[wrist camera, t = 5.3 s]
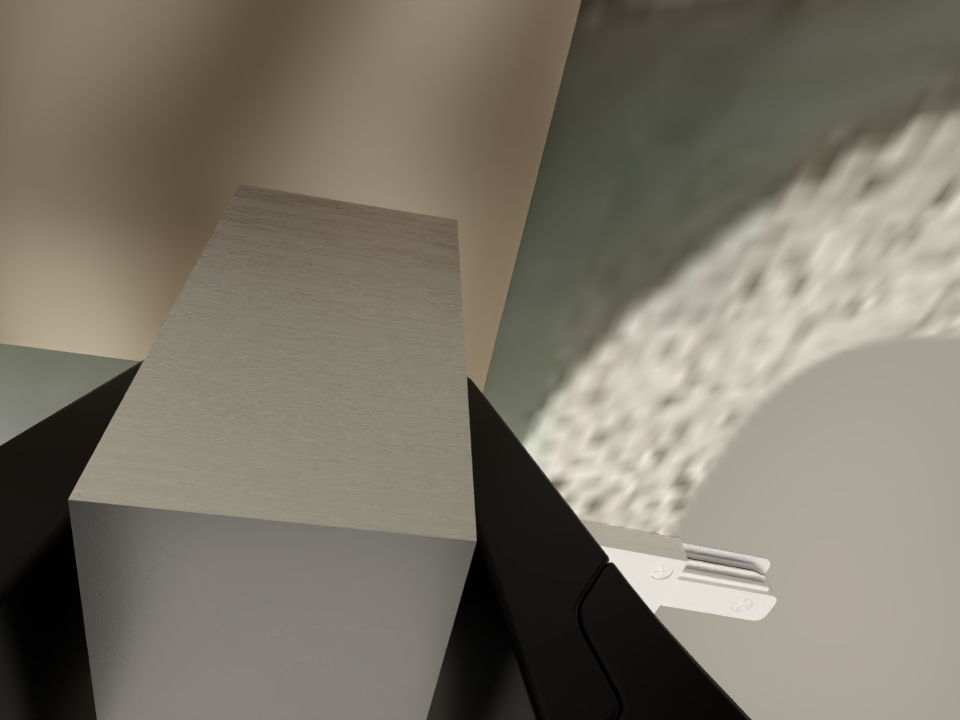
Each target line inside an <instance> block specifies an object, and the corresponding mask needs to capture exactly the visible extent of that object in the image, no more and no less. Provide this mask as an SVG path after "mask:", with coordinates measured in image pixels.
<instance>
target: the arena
mask: <svg viewBox="0 0 960 720" xmlns="http://www.w3.org/2000/svg"><path fill="white" fill-rule="evenodd" d="M580 4H581V0H0V343H2V344H9V345H17V346H25V347H33V348H41V349H48V350H56V351H64V352H72V353H80V354H87V355H95V356H103V357H111V358H119V359H126V360H134V361H143V360H144V359H145V357H146V355H147V354H148V352H149V350H150V348H151V346H152V344H153V343H154V341H155V339H156V337H157V335H158V333H159V332H160V330H161V328H162V326H163V324H164V322H165V321H166V319H167V317H168V315H169V313H170V311H171V310H172V308H173V306H174V304H175V302H176V300H177V299H178V297H179V295H180V293H181V291H182V289H183V288H184V286H185V284H186V282H187V280H188V278H189V277H190V275H191V273H192V271H193V269H194V267H195V266H196V264H197V262H198V260H199V258H200V256H201V255H202V253H203V251H204V249H205V247H206V245H207V244H208V242H209V240H210V238H211V236H212V234H213V232H214V231H215V229H216V227H217V225H218V223H219V221H220V220H221V218H222V216H223V214H224V212H225V210H226V209H227V207H228V205H229V203H230V201H231V199H232V198H233V196H234V194H235V192H236V190H237V188H238V187H239V185H240V184H241V185H247V186H253V187H260V188H266V189H272V190H278V191H284V192H290V193H296V194H302V195H308V196H314V197H320V198H326V199H333V200H339V201H345V202H351V203H357V204H363V205H369V206H375V207H381V208H387V209H393V210H399V211H405V212H412V213H418V214H424V215H430V216H436V217H442V218H448V219H454V220H457V222H458V239H459V255H460V272H461V289H462V305H463V322H464V338H465V355H466V372H467V377H469V378H470V379H471V380H472V381H473V382H474V383H475V384H476V386H477V387H478V388H479V390H480V391H481V392H482V393H483V389H484V385H485V381H486V377H487V373H488V369H489V365H490V361H491V357H492V353H493V349H494V345H495V341H496V337H497V333H498V329H499V325H500V322H501V318H502V314H503V310H504V306H505V302H506V298H507V294H508V290H509V286H510V282H511V278H512V274H513V270H514V266H515V262H516V258H517V254H518V250H519V246H520V242H521V238H522V234H523V230H524V226H525V222H526V218H527V214H528V210H529V206H530V203H531V199H532V195H533V191H534V187H535V183H536V179H537V175H538V171H539V167H540V163H541V159H542V155H543V151H544V147H545V143H546V139H547V135H548V131H549V127H550V123H551V119H552V115H553V111H554V107H555V103H556V99H557V95H558V91H559V88H560V84H561V80H562V76H563V72H564V68H565V64H566V60H567V56H568V52H569V48H570V44H571V40H572V36H573V32H574V28H575V24H576V20H577V16H578V12H579V8H580Z"/></svg>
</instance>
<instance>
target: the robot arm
mask: <svg viewBox="0 0 960 720" xmlns="http://www.w3.org/2000/svg"><path fill="white" fill-rule="evenodd" d="M143 361H144V360H143ZM143 361H141V362H139V363H138V364H136V365H134V366H133V367H131V368H129V369H128V370H126V371H124V372H123V373H121V374H119V375H118V376H116V377H114V378H113V379H111V380H109V381H108V382H106V383H104V384H103V385H101V386H99V387H98V388H96V389H94V390H93V391H91V392H89V393H88V394H86V395H84V396H83V397H81V398H79V399H78V400H76V401H74V402H73V403H71V404H69V405H68V406H66V407H64V408H63V409H61V410H59V411H58V412H56V413H54V414H53V415H51V416H49V417H48V418H46V419H44V420H43V421H41V422H39V423H38V424H36V425H34V426H33V427H31V428H29V429H28V430H26V431H24V432H23V433H21V434H19V435H18V436H16V437H14V438H13V439H11V440H9V441H8V442H6V443H4V444H3V445H1V446H0V720H97V716H96V709H95V701H94V694H93V686H92V678H91V671H90V663H89V656H88V648H87V640H86V633H85V625H84V618H83V610H82V602H81V595H80V587H79V580H78V572H77V564H76V557H75V549H74V542H73V534H72V526H71V519H70V511H69V504H68V499H69V497H70V495H71V493H72V491H73V489H74V488H75V486H76V484H77V482H78V480H79V478H80V477H81V475H82V473H83V471H84V469H85V467H86V466H87V464H88V462H89V460H90V458H91V456H92V455H93V453H94V451H95V449H96V447H97V445H98V444H99V442H100V440H101V438H102V436H103V434H104V433H105V431H106V429H107V427H108V425H109V423H110V422H111V420H112V418H113V416H114V414H115V412H116V411H117V409H118V407H119V405H120V403H121V401H122V400H123V398H124V396H125V394H126V392H127V390H128V388H129V387H130V385H131V383H132V381H133V379H134V377H135V376H136V374H137V372H138V370H139V368H140V366H141V365H142V363H143ZM467 388H468V405H469V421H470V438H471V455H472V471H473V488H474V504H475V521H476V538H477V542H476V545H475V549H474V552H473V556H472V560H471V563H470V567H469V570H468V574H467V577H466V581H465V584H464V588H463V591H462V595H461V599H460V602H459V606H458V609H457V613H456V616H455V620H454V623H453V627H452V630H451V634H450V638H449V641H448V645H447V648H446V652H445V655H444V659H443V662H442V666H441V669H440V673H439V677H438V680H437V684H436V687H435V691H434V694H433V698H432V701H431V705H430V708H429V712H428V716H427V719H426V720H751V719H750V717H749V716H747V714H746V713H745V712H744V711H743V710H742V709H741V708H740V707H739V706H738V705H737V704H736V703H735V702H734V701H733V699H731V697H730V696H729V695H728V694H727V693H726V692H725V691H724V690H723V689H722V688H721V687H720V686H719V685H718V684H717V683H716V681H714V679H713V678H711V676H710V675H709V674H708V673H707V672H706V671H705V670H704V669H703V668H702V667H701V666H700V665H699V664H698V662H696V660H695V659H694V658H693V657H692V656H691V655H690V654H689V652H688V651H687V650H686V649H685V648H684V647H683V646H682V645H681V644H680V643H679V641H678V640H677V639H676V638H675V637H674V636H673V635H672V634H671V633H670V631H669V630H668V629H667V628H666V627H665V626H664V625H663V624H662V623H661V622H660V620H659V619H658V618H657V617H656V615H655V614H654V613H653V612H652V610H651V609H650V608H649V607H648V605H647V604H646V603H645V602H644V601H643V599H642V598H641V597H640V596H639V594H638V593H637V592H636V591H635V590H634V588H633V587H632V586H631V585H630V583H629V582H628V581H627V579H626V578H625V577H624V576H623V574H622V573H621V572H620V570H619V569H618V568H617V566H616V565H615V564H614V563H612V562H609V557H608V555H607V554H606V553H605V551H604V550H603V549H602V547H601V546H600V545H599V544H598V542H597V541H596V540H595V538H594V537H593V536H592V535H591V533H590V532H589V531H588V529H587V528H586V527H585V526H584V524H583V523H582V522H581V520H580V519H579V518H578V516H577V515H576V514H575V513H574V511H573V510H572V509H571V507H570V506H569V505H568V504H567V502H566V501H565V500H564V498H563V497H562V496H561V494H560V493H559V492H558V491H557V489H556V488H555V487H554V485H553V484H552V483H551V482H550V480H549V479H548V478H547V476H546V475H545V474H544V472H543V471H542V470H541V469H540V467H539V466H538V465H537V463H536V462H535V461H534V460H533V458H532V457H531V456H530V454H529V453H528V452H527V450H526V449H525V448H524V447H523V445H522V444H521V443H520V441H519V440H518V439H517V438H516V436H515V435H514V434H513V432H512V431H511V430H510V428H509V427H508V426H507V425H506V423H505V422H504V421H503V419H502V418H501V417H500V416H499V414H498V413H497V412H496V410H495V409H494V408H493V406H492V405H491V404H490V403H489V401H488V400H487V399H486V397H485V396H484V395H483V394H482V392H481V391H480V390H479V388H478V387H477V386H476V384H475V383H474V382H473V381H472V380H471V379H470V378H469V377H467Z"/></svg>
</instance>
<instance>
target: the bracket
mask: <svg viewBox="0 0 960 720" xmlns="http://www.w3.org/2000/svg"><path fill="white" fill-rule="evenodd" d="M68 504H69V511H70V519H71V526H72V534H73V542H74V549H75V557H76V564H77V572H78V580H79V587H80V595H81V602H82V610H83V618H84V625H85V633H86V640H87V648H88V656H89V663H90V671H91V678H92V686H93V694H94V701H95V709H96V716H97V720H426V719H427V716H428V712H429V708H430V705H431V701H432V698H433V694H434V691H435V687H436V684H437V680H438V677H439V673H440V669H441V666H442V662H443V659H444V655H445V652H446V648H447V645H448V641H449V638H450V634H451V630H452V627H453V623H454V620H455V616H456V613H457V609H458V606H459V602H460V599H461V595H462V591H463V588H464V584H465V581H466V577H467V574H468V570H469V567H470V563H471V560H472V556H473V552H474V549H475V545H476V542H477V538H476V521H475V504H474V488H473V471H472V455H471V438H470V421H469V405H468V388H467V372H466V355H465V338H464V322H463V305H462V289H461V272H460V255H459V239H458V222H457V220H454V219H448V218H442V217H436V216H430V215H424V214H418V213H412V212H405V211H399V210H393V209H387V208H381V207H375V206H369V205H363V204H357V203H351V202H345V201H339V200H333V199H326V198H320V197H314V196H308V195H302V194H296V193H290V192H284V191H278V190H272V189H266V188H260V187H253V186H247V185H241V184H240V185H239V187H238V188H237V190H236V192H235V194H234V196H233V198H232V199H231V201H230V203H229V205H228V207H227V209H226V210H225V212H224V214H223V216H222V218H221V220H220V221H219V223H218V225H217V227H216V229H215V231H214V232H213V234H212V236H211V238H210V240H209V242H208V244H207V245H206V247H205V249H204V251H203V253H202V255H201V256H200V258H199V260H198V262H197V264H196V266H195V267H194V269H193V271H192V273H191V275H190V277H189V278H188V280H187V282H186V284H185V286H184V288H183V289H182V291H181V293H180V295H179V297H178V299H177V300H176V302H175V304H174V306H173V308H172V310H171V311H170V313H169V315H168V317H167V319H166V321H165V322H164V324H163V326H162V328H161V330H160V332H159V333H158V335H157V337H156V339H155V341H154V343H153V344H152V346H151V348H150V350H149V352H148V354H147V355H146V357H145V359H144V361H143V363H142V365H141V366H140V368H139V370H138V372H137V374H136V376H135V377H134V379H133V381H132V383H131V385H130V387H129V388H128V390H127V392H126V394H125V396H124V398H123V400H122V401H121V403H120V405H119V407H118V409H117V411H116V412H115V414H114V416H113V418H112V420H111V422H110V423H109V425H108V427H107V429H106V431H105V433H104V434H103V436H102V438H101V440H100V442H99V444H98V445H97V447H96V449H95V451H94V453H93V455H92V456H91V458H90V460H89V462H88V464H87V466H86V467H85V469H84V471H83V473H82V475H81V477H80V478H79V480H78V482H77V484H76V486H75V488H74V489H73V491H72V493H71V495H70V497H69V499H68Z"/></svg>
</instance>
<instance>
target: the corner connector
mask: <svg viewBox="0 0 960 720" xmlns="http://www.w3.org/2000/svg"><path fill="white" fill-rule="evenodd" d="M581 522H582V523H583V524H584V526H585V527H586V528H587V529H588V531H589V532H590V533H591V535H592V536H593V537H594V538H595V540H596V541H597V542H598V544H599V545H600V546H601V547H602V549H603V550H604V551H605V553H606V554H607V555H608V557H609V562H612V563H614V564H615V565H616V566H617V568H618V569H619V570H620V572H621V573H622V574H623V576H624V577H625V578H626V579H627V581H628V582H629V583H630V585H631V586H632V587H633V588H634V590H635V591H636V592H637V593H638V594H639V596H640V597H641V598H642V599H643V601H644V602H645V603H646V604H647V605H648V607H649V608H650V609H651V610H652V612H653V613H655V612H656V610H657V609H658V607H659V606H660V605H662V606H668V607H674V608H681V609H687V610H693V611H699V612H705V613H711V614H717V615H723V616H729V617H735V618H741V619H747V620H760V619H762V618H764V617H765V616H766V615H767V614H768V612H769V611H770V610H771V609H772V607H773V606H774V605H775V603H776V601H777V600H776V597H775V595H774V592H773V590H772V588H771V586H770V583H769V581H768V579H767V577H766V575H765V573H766V572H767V570H768V569H769V567H770V562H769V560H768V559H767V558H764V557H759V556H754V555H749V554H744V553H739V552H733V551H728V550H723V549H717V548H712V547H706V546H701V545H696V544H691V543H685V542H681V539H680V537H679V534H678V531H677V528H676V526H675V528H674V529H673V530H672V531H671V532H670V534H669V536H663V535H657V534H652V533H647V532H641V531H636V530H631V529H625V528H620V527H615V526H609V525H604V524H599V523H594V522H588V521H583V520H581Z"/></svg>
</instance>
